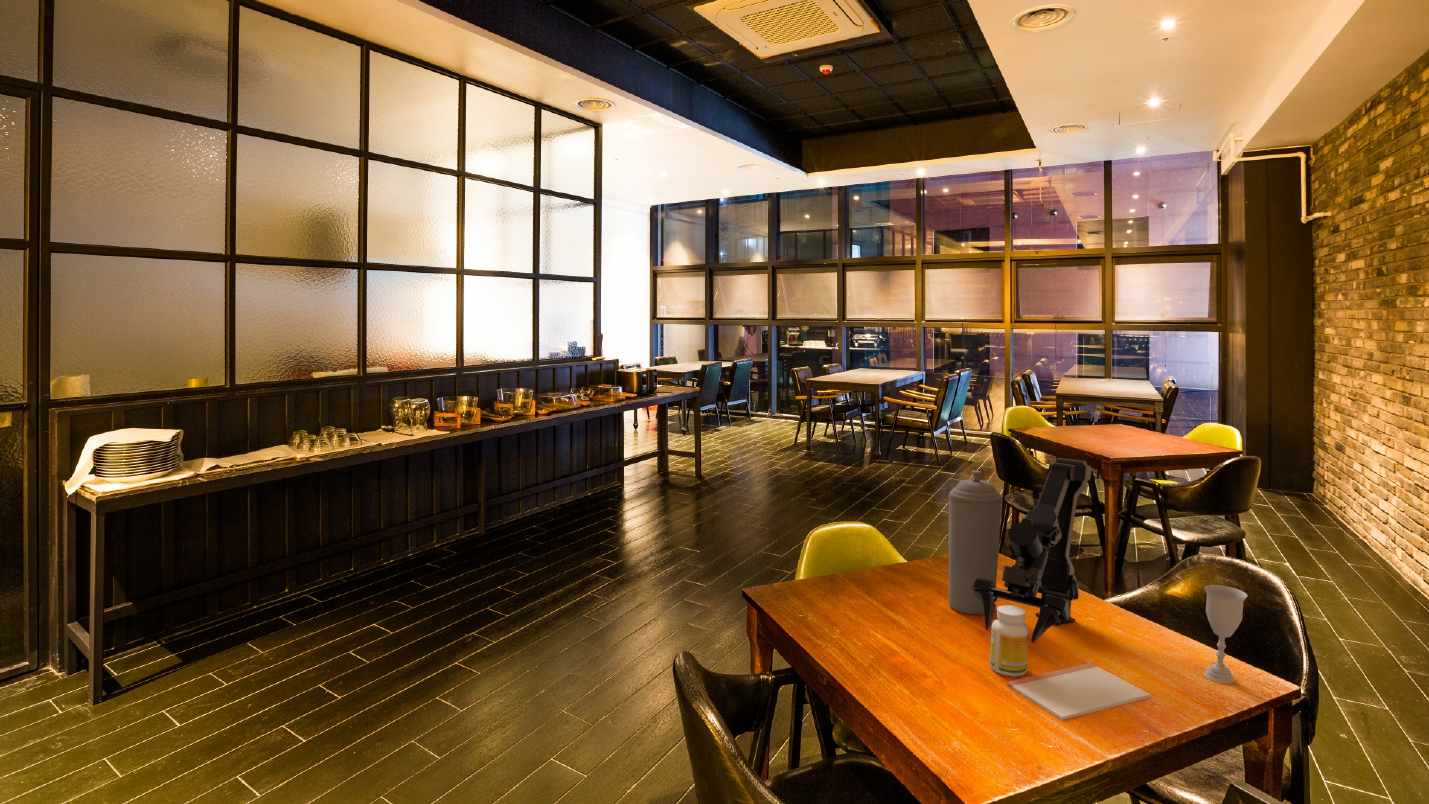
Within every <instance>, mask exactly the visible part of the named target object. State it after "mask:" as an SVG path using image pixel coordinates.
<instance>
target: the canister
mask: <svg viewBox="0 0 1429 804" xmlns="http://www.w3.org/2000/svg"><path fill="white" fill-rule="evenodd" d="M970 473H971V474H972V475H973V478H972V479H964V480H961V481H959V483H958V484H956V486H955V487H953V488H952V490H950V491H949V494H948V604H949V606H950V608H951V609H953V610H955V611H958V612H959V613H963V614H967V615H968V614H969V615H975V616H976V615H979V616H980V615H982V616H983V615H984V605H983V604H982V603H981V601H980V600H978V599H977V598H976V596H975V594H974V592H973V590H972V585H973V582H974V581H975V580H976V579H977V578H980V579H985V580H989V581H994V584H995V586H996V587H997V576H998V565H999V564H998V562H999V549H1000V533H1001V532H1000V531H1001V521H1002V520H1001V519H1002V518H1001V517H1002V505H1003V503H1002V502H1004V499H1003V497H1002V496H1003V495H1002V494H1001V493H1000V492H999V490H997V489H996V487H995V485H993V484H992V483H991V482H989V481H986V480H981V479H980V477H979V475H981V474H982V471H981V470H971V472H970ZM994 603H995V604H996V602H994Z"/></svg>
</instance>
